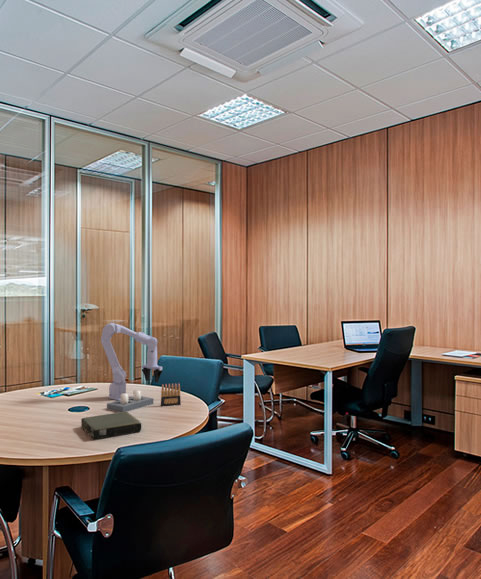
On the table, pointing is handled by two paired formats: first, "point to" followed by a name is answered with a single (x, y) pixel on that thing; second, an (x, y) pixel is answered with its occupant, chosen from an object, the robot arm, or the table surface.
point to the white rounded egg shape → (137, 395)
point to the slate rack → (128, 403)
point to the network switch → (110, 425)
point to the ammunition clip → (170, 395)
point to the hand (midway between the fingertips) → (152, 381)
